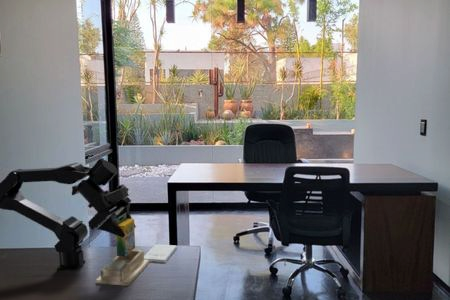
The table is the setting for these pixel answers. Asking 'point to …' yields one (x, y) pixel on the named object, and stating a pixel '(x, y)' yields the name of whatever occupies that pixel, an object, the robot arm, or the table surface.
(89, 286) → the table surface
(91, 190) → the robot arm
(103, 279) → the organizer
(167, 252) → the external hard drive
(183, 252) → the table surface
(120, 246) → the crayon box
